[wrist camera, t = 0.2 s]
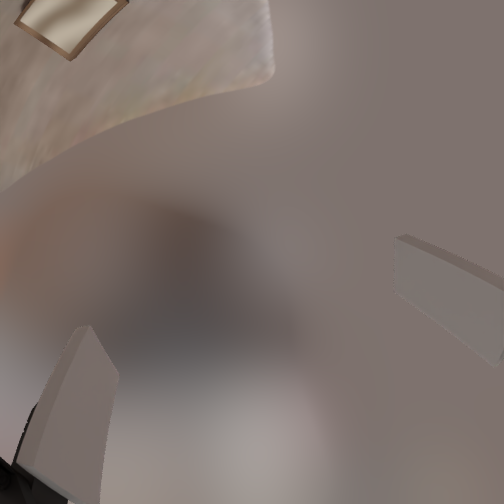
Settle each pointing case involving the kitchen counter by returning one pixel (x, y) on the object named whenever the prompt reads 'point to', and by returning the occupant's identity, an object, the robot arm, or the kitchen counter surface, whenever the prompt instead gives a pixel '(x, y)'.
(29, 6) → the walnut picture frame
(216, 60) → the kitchen counter surface
